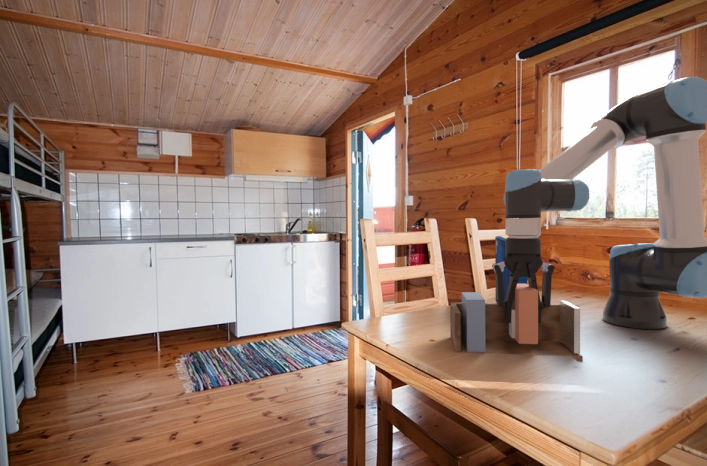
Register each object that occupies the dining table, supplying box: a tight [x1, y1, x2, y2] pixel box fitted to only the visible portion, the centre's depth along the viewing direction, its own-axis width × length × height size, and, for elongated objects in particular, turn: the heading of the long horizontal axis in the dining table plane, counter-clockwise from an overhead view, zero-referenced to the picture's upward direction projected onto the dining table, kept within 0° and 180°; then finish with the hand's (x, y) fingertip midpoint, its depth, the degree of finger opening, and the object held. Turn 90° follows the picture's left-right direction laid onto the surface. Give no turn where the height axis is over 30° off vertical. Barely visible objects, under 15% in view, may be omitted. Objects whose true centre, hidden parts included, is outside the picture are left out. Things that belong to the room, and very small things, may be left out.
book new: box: [512, 283, 539, 344], centre depth 89 cm, size 4×9×12 cm, turn 171°
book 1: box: [461, 291, 486, 352], centre depth 91 cm, size 4×9×12 cm, turn 171°
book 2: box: [494, 235, 528, 302], centre depth 129 cm, size 22×7×25 cm, turn 168°
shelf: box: [449, 301, 584, 362], centre depth 91 cm, size 27×11×10 cm, turn 81°
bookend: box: [559, 299, 581, 354], centre depth 88 cm, size 1×8×10 cm, turn 171°
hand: (522, 336), depth 89 cm, fingers closed on book new, 4 cm apart
